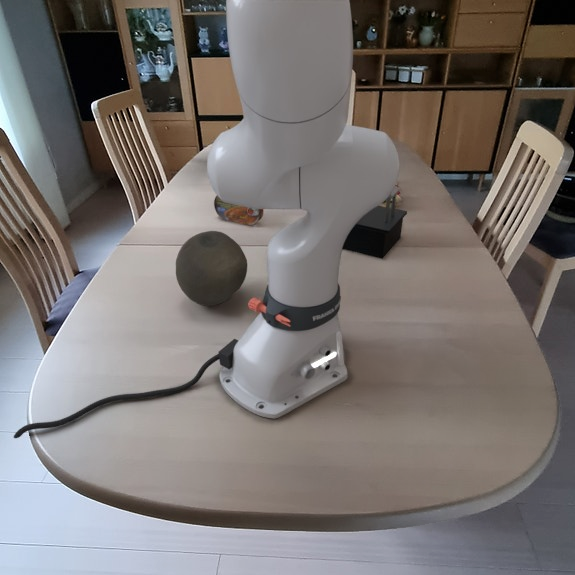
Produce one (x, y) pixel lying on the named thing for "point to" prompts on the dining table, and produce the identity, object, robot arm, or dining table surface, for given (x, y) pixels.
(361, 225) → the bin lid
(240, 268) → the dark brown ball
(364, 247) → the bin
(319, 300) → the robot arm
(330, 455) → the dining table surface
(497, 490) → the dining table surface
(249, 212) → the tin
